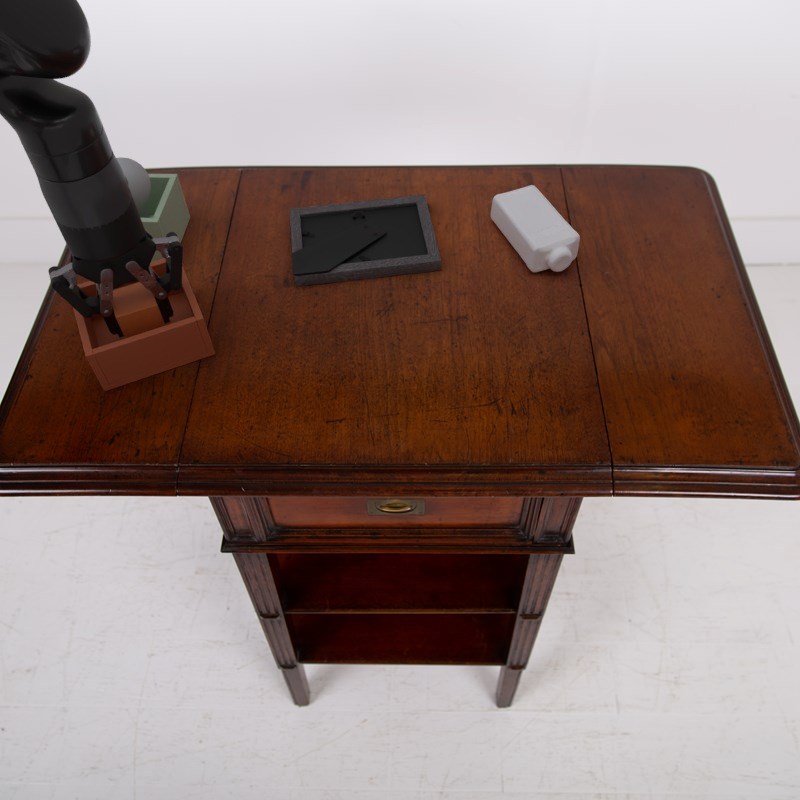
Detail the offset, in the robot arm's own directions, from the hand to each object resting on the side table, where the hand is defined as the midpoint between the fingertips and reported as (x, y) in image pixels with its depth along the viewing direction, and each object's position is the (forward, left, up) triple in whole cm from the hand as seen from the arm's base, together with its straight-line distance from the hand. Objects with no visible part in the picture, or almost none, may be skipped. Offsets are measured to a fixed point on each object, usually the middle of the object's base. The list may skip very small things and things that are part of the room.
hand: (143, 324), depth 86 cm
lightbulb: (+3, +18, -2) cm, 18 cm away
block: (0, 0, 0) cm, 0 cm away
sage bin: (+3, +18, -2) cm, 18 cm away
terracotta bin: (0, 0, -2) cm, 2 cm away
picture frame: (+29, +5, -3) cm, 29 cm away
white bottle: (+48, -5, -3) cm, 48 cm away
